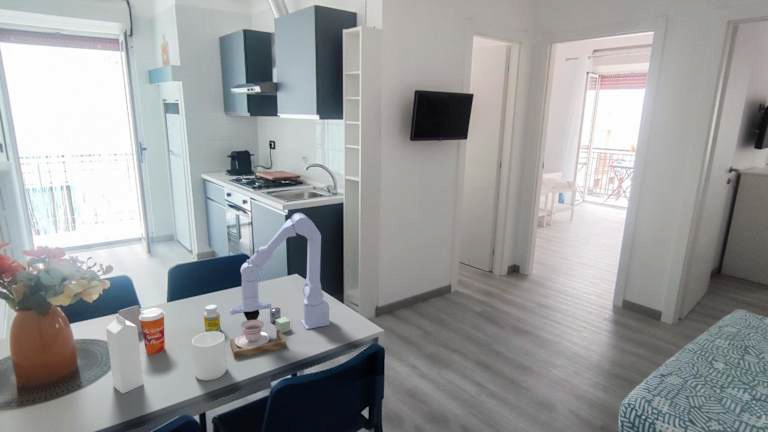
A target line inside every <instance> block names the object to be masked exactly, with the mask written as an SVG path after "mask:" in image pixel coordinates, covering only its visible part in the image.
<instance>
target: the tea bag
mask: <svg viewBox="0 0 768 432" xmlns="http://www.w3.org/2000/svg"><path fill="white" fill-rule="evenodd" d="M117 312H118V314H117V315H119V316H120V317H122V318H123V319H125V320H127V321H129V322H131V323H132V324H134V325H136V326H137V329H138V334H140V333H143V332H142V328H141V321H140V319H139V316H140V315H141V312H142V311H141V309H140V305H139V304H137V305H133V306H130V307H126V308H124V309H120V310H118V311H117Z"/></svg>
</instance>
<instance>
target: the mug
mask: <svg viewBox="0 0 768 432" xmlns="http://www.w3.org/2000/svg"><path fill="white" fill-rule="evenodd" d="M191 346H192V347H191V348H192V360H193V371H194V372H193V373H194V375H195V378H197V379H198V380H201V381H205V382H206V381H213V380H217V379H218V378H220V377H222V376H223V375H225V373H227V372H226V371H227V366H228V365H227V363H228V362H227V350H226V347H227V346H226V335H225V334H224V333H223V332H220V331H218V332H216V331H212V332H206V331H205V332H202V333H199V334H197V335H196V336H194V337H193V338H192V340H191Z"/></svg>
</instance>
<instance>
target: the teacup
mask: <svg viewBox="0 0 768 432" xmlns="http://www.w3.org/2000/svg"><path fill="white" fill-rule="evenodd" d="M264 326H265V323H264V322H263V321H262V320H260V319H257V320H248V321H247V320H246V321H245V320H244V321H242V323H241V324H240V328H241V330H242V331H243V333H242V334H240V335H238V336H237V337H236V338H235V339H234V342H235V345H236V347H238V348H240V349H242V348H247V347H252V346H257V345H261V344H266V343H269V341H270V335H269V333H266V332H264V331H262V329H263V328H264Z"/></svg>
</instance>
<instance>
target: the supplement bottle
mask: <svg viewBox="0 0 768 432" xmlns="http://www.w3.org/2000/svg"><path fill="white" fill-rule="evenodd" d="M204 309H205V312H204V314H203V319H204V331H205V332H212V331H216V332H220V330H221V320H220V318H221V316H220V311H219V310H218V306H217V305H216V304H209V305H206V306H205V308H204Z"/></svg>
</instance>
